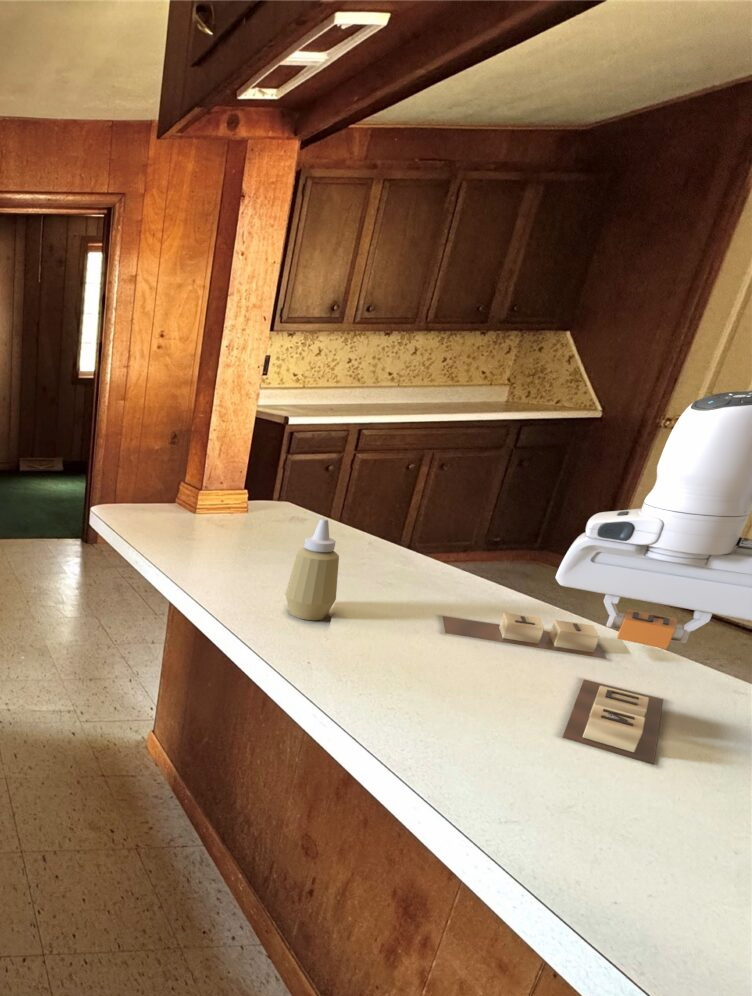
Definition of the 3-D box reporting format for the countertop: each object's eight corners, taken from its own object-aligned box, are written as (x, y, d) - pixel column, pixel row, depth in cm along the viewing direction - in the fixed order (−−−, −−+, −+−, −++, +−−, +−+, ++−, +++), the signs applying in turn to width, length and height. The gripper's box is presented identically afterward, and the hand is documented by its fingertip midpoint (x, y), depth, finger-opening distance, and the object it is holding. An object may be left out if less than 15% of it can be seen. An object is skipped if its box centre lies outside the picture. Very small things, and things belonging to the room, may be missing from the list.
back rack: (592, 644, 106) (600, 621, 104) (604, 664, 100) (613, 641, 98) (441, 620, 116) (446, 600, 114) (443, 638, 110) (449, 616, 108)
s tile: (620, 628, 89) (627, 607, 88) (668, 638, 86) (677, 617, 85) (616, 638, 86) (624, 618, 85) (666, 649, 83) (675, 628, 82)
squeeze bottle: (275, 606, 124) (290, 513, 117) (319, 606, 124) (336, 512, 117) (294, 624, 117) (311, 526, 110) (340, 623, 116) (361, 525, 110)
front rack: (581, 685, 94) (590, 660, 93) (660, 705, 89) (671, 679, 88) (560, 742, 82) (570, 715, 81) (650, 770, 77) (663, 741, 75)
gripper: (817, 541, 75) (765, 649, 80) (579, 512, 89) (547, 606, 94) (823, 554, 71) (767, 667, 77) (572, 521, 85) (540, 619, 91)
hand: (644, 633), depth 86 cm, fingers closed on s tile, 4 cm apart
